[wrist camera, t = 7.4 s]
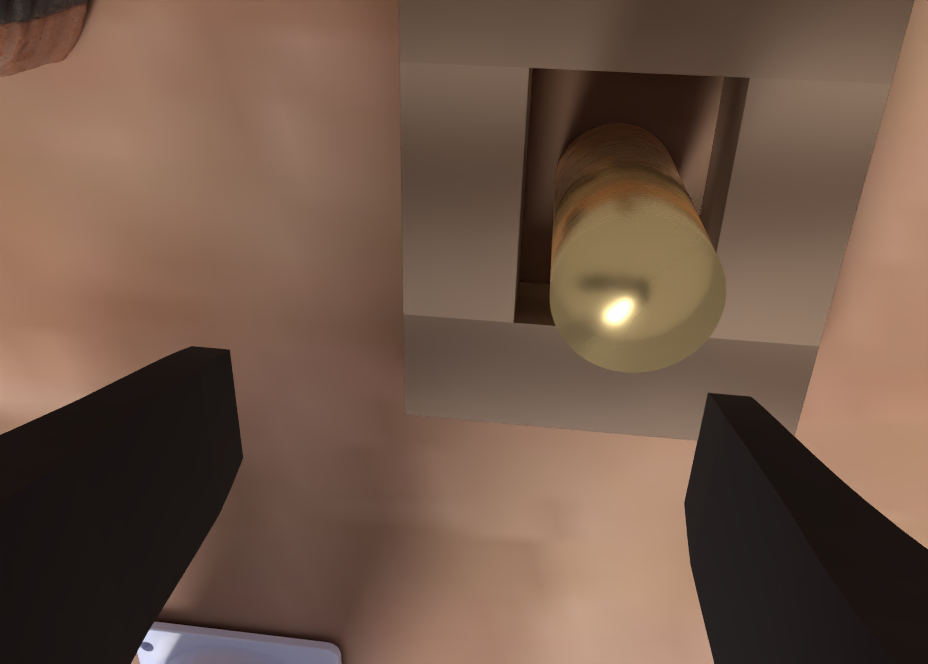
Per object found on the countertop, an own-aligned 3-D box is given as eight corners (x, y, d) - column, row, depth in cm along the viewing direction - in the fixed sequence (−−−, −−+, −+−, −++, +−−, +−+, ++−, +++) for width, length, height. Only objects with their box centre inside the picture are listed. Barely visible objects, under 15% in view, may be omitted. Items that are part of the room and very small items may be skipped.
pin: (656, 248, 20) (696, 386, 14) (543, 226, 20) (534, 354, 14) (689, 135, 19) (750, 233, 13) (568, 112, 19) (569, 199, 13)
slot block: (768, 396, 22) (791, 448, 20) (420, 367, 23) (404, 414, 21) (888, -85, 16) (938, -87, 14) (419, -97, 17) (397, -100, 15)
